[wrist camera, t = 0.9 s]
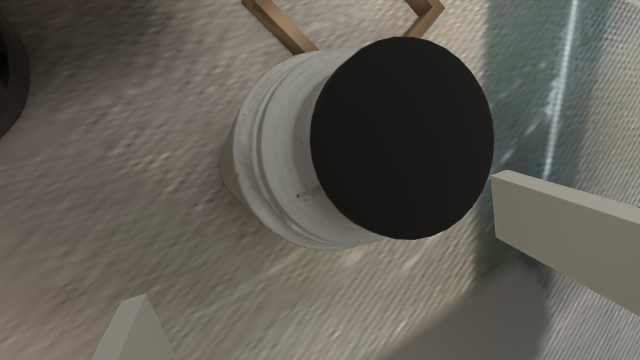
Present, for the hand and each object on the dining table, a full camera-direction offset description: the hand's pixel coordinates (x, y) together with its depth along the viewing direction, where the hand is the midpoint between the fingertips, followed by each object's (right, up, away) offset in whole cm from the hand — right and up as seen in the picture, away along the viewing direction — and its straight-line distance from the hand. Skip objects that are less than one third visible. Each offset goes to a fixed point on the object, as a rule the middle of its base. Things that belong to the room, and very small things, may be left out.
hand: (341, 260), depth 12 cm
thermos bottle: (-7, +4, +22) cm, 24 cm away
